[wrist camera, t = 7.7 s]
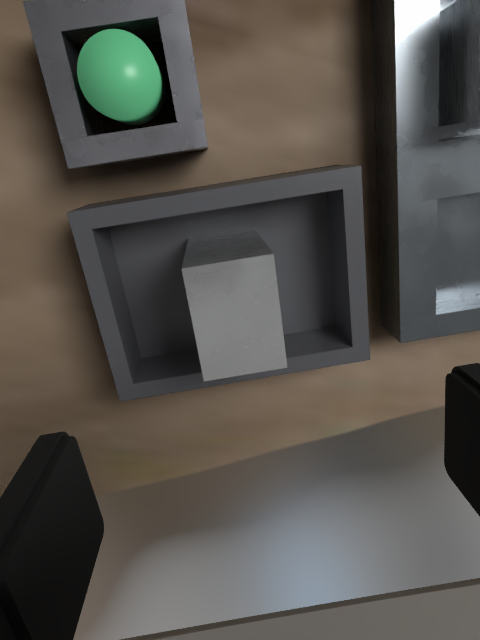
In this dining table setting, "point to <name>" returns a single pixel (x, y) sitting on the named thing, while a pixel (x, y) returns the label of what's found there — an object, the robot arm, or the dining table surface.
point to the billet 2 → (459, 63)
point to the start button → (121, 77)
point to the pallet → (423, 181)
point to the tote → (216, 217)
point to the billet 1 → (234, 304)
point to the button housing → (70, 103)
